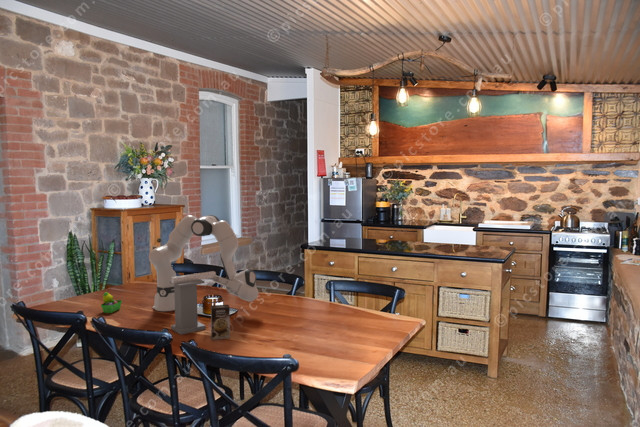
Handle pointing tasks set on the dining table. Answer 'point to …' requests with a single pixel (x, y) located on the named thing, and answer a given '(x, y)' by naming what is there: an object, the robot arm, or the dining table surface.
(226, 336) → the coffee box
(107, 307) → the fruit basket
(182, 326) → the shelf stand
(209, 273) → the beige wooden bar
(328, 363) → the dining table surface
